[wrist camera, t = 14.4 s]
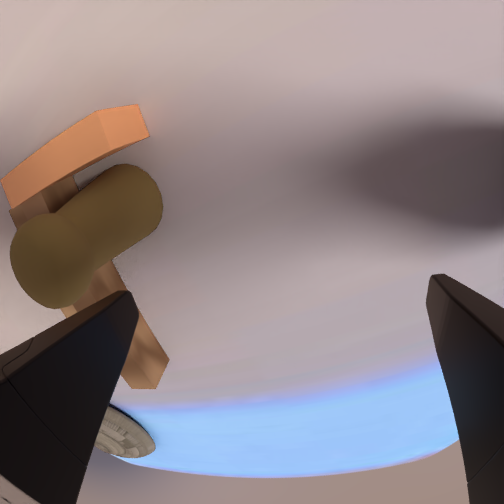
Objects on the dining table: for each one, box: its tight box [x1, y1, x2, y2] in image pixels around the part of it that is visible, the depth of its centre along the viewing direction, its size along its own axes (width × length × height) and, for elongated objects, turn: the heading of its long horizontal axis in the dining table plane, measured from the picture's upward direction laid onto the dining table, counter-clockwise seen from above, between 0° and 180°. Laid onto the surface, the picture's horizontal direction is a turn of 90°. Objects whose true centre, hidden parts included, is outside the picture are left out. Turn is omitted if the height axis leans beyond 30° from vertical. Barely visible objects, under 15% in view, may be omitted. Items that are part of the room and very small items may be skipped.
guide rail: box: [0, 104, 169, 389], centre depth 24 cm, size 22×17×5 cm
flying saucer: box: [94, 406, 155, 458], centre depth 39 cm, size 15×15×6 cm
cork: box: [10, 164, 163, 309], centre depth 18 cm, size 6×6×11 cm
